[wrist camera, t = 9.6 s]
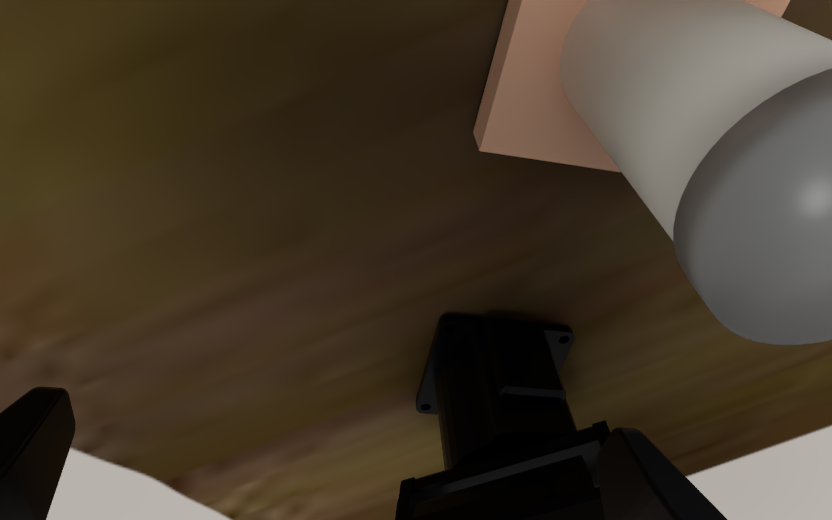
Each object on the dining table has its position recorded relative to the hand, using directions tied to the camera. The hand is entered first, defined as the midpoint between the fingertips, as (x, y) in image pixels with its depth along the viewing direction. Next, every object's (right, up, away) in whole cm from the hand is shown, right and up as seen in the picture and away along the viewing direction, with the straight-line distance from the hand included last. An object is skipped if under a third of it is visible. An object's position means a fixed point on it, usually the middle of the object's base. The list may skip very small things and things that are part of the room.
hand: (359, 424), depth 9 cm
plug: (+8, +9, +8) cm, 15 cm away
